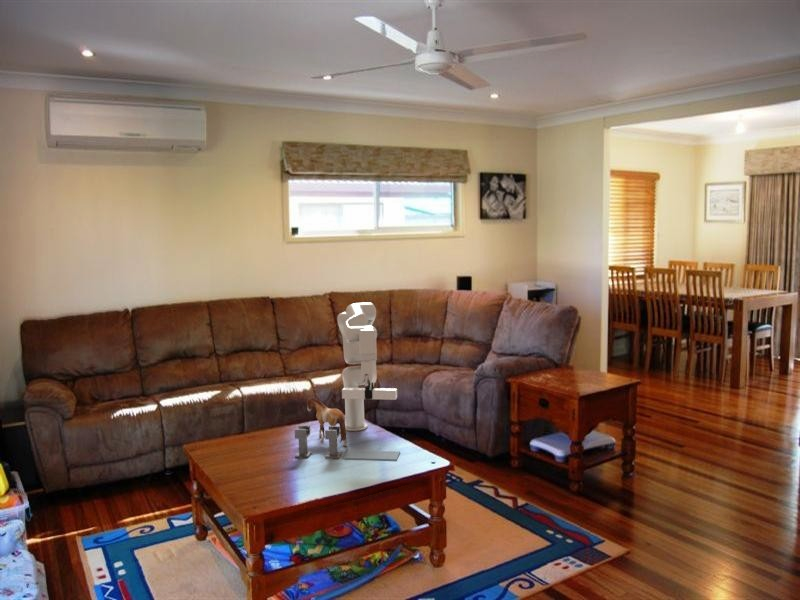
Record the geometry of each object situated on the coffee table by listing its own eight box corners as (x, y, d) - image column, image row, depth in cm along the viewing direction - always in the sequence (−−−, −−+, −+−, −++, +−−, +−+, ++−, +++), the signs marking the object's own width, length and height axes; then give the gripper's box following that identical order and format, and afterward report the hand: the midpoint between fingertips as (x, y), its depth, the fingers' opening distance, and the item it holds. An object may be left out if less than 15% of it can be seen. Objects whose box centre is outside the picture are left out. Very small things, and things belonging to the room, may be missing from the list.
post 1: (299, 452, 307) (298, 425, 306) (312, 453, 306) (311, 425, 305) (294, 458, 300) (293, 429, 299) (307, 458, 299) (306, 430, 298)
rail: (344, 396, 301) (344, 387, 301) (397, 397, 297) (396, 388, 297) (342, 398, 297) (341, 389, 297) (395, 399, 293) (395, 390, 293)
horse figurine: (306, 437, 329) (304, 396, 327) (319, 434, 334) (318, 393, 332) (342, 453, 305) (340, 408, 303) (356, 449, 310) (354, 405, 308)
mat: (348, 451, 307) (348, 450, 307) (400, 452, 303) (400, 451, 303) (342, 459, 297) (342, 457, 297) (396, 460, 293) (396, 459, 293)
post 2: (329, 453, 305) (328, 425, 303) (342, 454, 304) (341, 426, 302) (325, 458, 298) (323, 430, 296) (338, 459, 297) (337, 430, 295)
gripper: (363, 353, 304) (365, 392, 306) (355, 360, 287) (357, 402, 289) (380, 353, 303) (381, 392, 305) (372, 360, 286) (374, 402, 288)
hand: (369, 397), depth 297 cm, fingers closed on rail, 4 cm apart
